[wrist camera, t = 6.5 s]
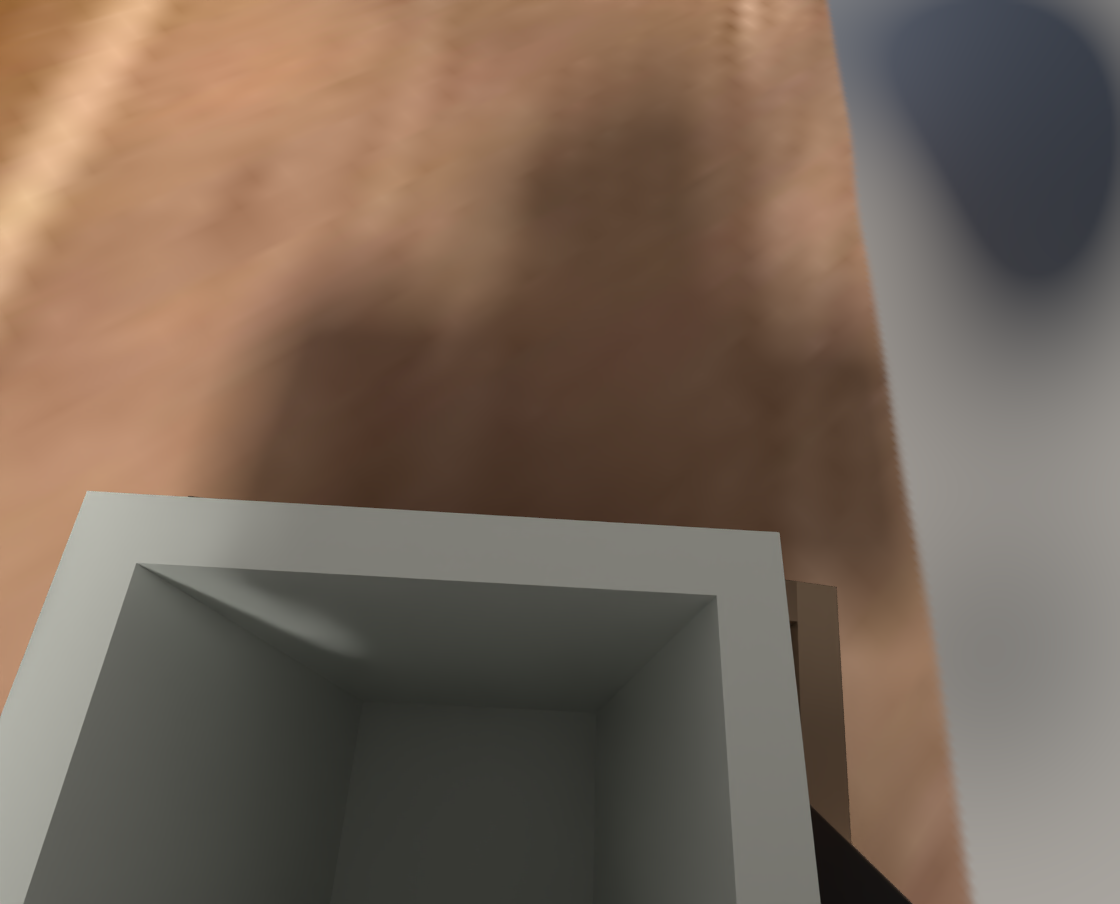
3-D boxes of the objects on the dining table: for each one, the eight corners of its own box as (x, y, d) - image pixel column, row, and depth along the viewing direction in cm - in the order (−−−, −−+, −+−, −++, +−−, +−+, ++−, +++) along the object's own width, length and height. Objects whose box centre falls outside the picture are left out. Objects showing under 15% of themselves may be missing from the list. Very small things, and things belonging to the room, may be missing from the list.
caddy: (620, 1037, 12) (907, 1690, 3) (283, 1026, 12) (-377, 1697, 3) (620, 688, 15) (778, 532, 6) (344, 674, 15) (86, 491, 6)
